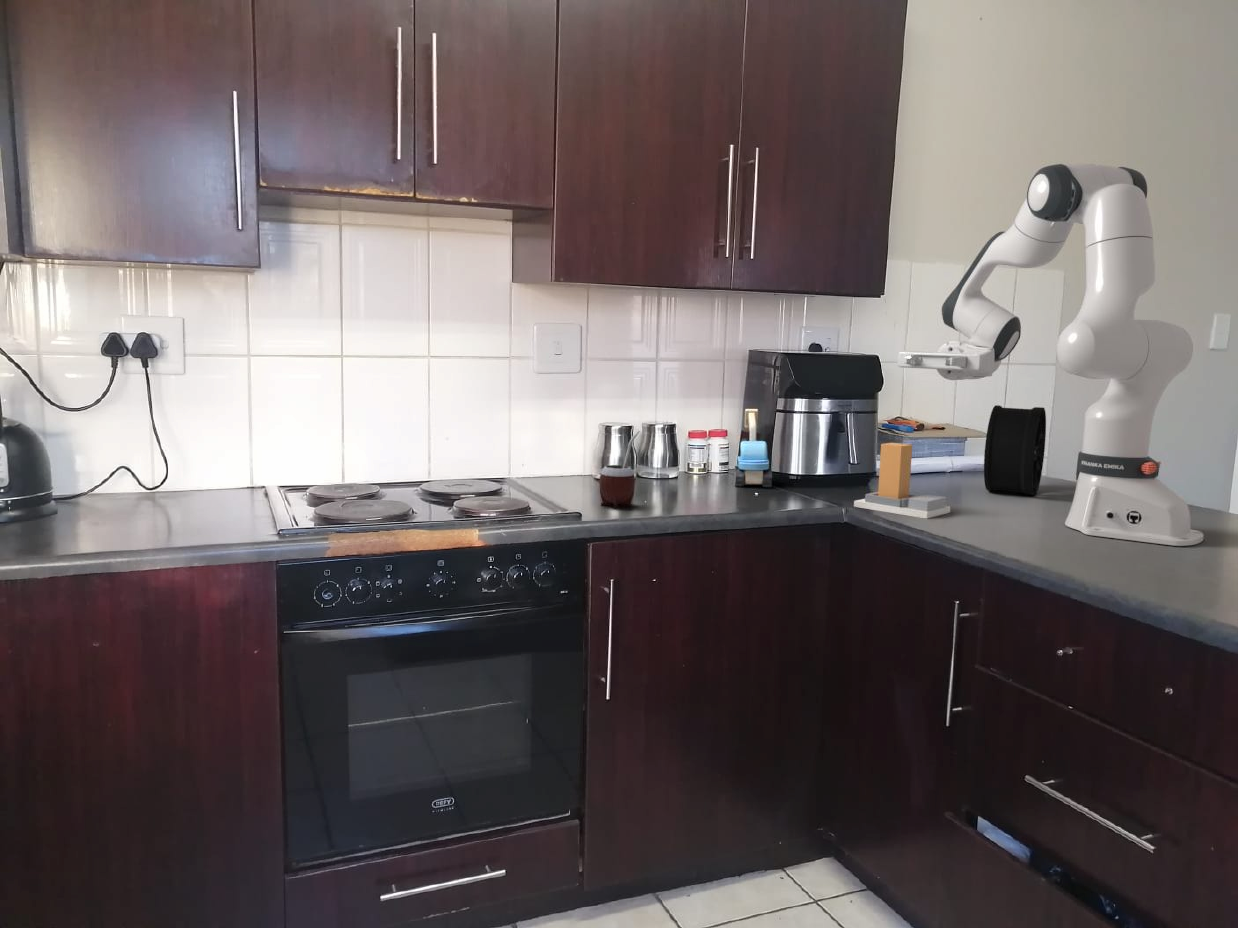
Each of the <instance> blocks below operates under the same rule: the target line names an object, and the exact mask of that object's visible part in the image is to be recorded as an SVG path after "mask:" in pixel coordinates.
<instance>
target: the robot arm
mask: <svg viewBox="0 0 1238 928" xmlns="http://www.w3.org/2000/svg"><path fill="white" fill-rule="evenodd" d="M1147 197H1148V183H1147V180H1146V178H1145V176H1144V174H1143V173H1142V172H1140V171H1138V170H1136V169H1133V168H1129V167H1125V166H1120V167H1119V166H1118V167H1116V166H1109V165H1102V164H1101V165H1099V164H1093V163H1075V164H1073V163H1072V164H1063V163H1057V164H1051V165H1047V166H1044V167H1042V168H1040V169H1039V170H1038V171H1036V173H1035V174H1034V175H1033V177H1032V178H1031V180H1030V181H1029V184H1028V187H1027V191H1026V198H1025V200H1024V201H1023V203H1022V205H1021V207H1020V209H1019V210H1018V212H1017V214H1016V217H1015V219H1014V221H1013V223H1012V224H1011V226H1010V227H1009V228H1008V229H1007V230H1006V231H999V232H997V233H994V235H993V236H991V237H990V238H989V240H988V241H987V242H985V245H983V247H982V248H981V249H980V251H979V253H978V254H977V255H976V257H975V258H974V260H973V261H972V263H971V264H970V266H969V268H968V269H967V270H966V272H965V274H963V276H962V278H961V279H960V281H959V283H958V284H957V285H956V286H955V288H954V289H953V290H952V291H951V292H950V294H949V295H948V296H947V298H946V299H945V301H944V302H943V303H942V306H941V317H942V320H943V324H944V325H945V326H947V327H949V328H951V329H953V330H954V331H956V332H959V333H961V335H963V336H965V337H967V338H968V339H969V340H966V341H965V340H962V341H961V340H960V341H959V340H950V341H948V342H946V343H943V344H942V345H941V346H940V348H938V350H937V351H914V350H913V351H911V350H910V351H909V350H906V351H905V350H903V351H899V352H898V355H897V367H898V368H908V369H910V368H911V369H928V370H929V369H930V370H936V371H937V372H938V374H939V375H940V376H941V377H942V378H944V379H946V380H948V381H963V380H981V379H984V378H987V377H992V376H993V374H994V373H995V372H996V371H997V370H998V369H999V367H1000V365H1001V363H1002V360H1004V359H1006V358H1007V357H1008V356H1009V355H1010V354H1011V353H1012V352H1013V350H1014V349H1015V348H1016V346H1017V344H1018V342H1019V341H1020V337H1021V334H1022V333H1021V332H1022V326H1021V325H1022V324H1021V320H1020V318H1019V317H1018V316H1016V315H1015V314H1013V313H1012V312H1011V311H1009V310H1007V309H1006V308H1004V307H1003V306H1001V305H999V304H997V303H996V302H994V301H993V300H991V299H990V298H988V297H986V296H985V294H984V293H983V291H982V287H983V286H984V284H985V283H986V282H987V280H988V278H989V277H990V276H991V274H992V273H993V271H994V270H995V268H996V267H997V266H1001V265H1002V266H1009V267H1013V268H1014V267H1015V268H1020V269H1021V268H1022V269H1033V268H1039V267H1042V266H1045V265H1047V264H1048V263H1049V264H1050V263H1051V261H1053V260H1055V259H1056V257H1058V255H1059V253H1060V252H1061V250H1062V249H1063V247H1064V246H1065V243H1066V241H1067V239H1068V237H1069V235H1070V233H1071V231H1072V228H1073V226H1074V224H1080V225H1083V227H1084V244H1085V245H1084V246H1085V247H1084V248H1085V249H1084V250H1085V252H1084V253H1085V291H1084V292H1085V293H1084V298H1083V301H1082V304H1081V307H1080V309H1079V312H1077V315H1076V316H1075V318H1074V319H1073V320H1072V321H1071V322H1070V323H1069V324H1068V325H1067V326H1066V327H1065V328H1064V329H1063V330H1062V332H1061V333H1060V335H1059V336H1058V339H1057V342H1056V349H1055V351H1056V358H1057V361H1058V363H1059V366H1060V367H1061V368H1062V369H1063V370H1064V371H1065V372H1066V373H1068V374H1071V375H1074V376H1077V377H1081V378H1087V379H1090V380H1109V383H1108V386H1107V388H1106V390H1105V392H1104V393H1103V395H1102V396H1101V397H1100V398H1099V399H1098V400H1097V401H1095V402H1093V403H1092V404H1091V405H1089V406H1088V408H1087V409H1086V411H1085V413H1084V417H1083V418H1084V419H1083V428H1082V439H1081V450H1080V451H1079V452H1078V453H1077V454H1078V455H1077V459H1076V467H1075V475H1076V477H1075V479H1076V480H1075V481H1076V486H1075V492H1074V495H1073V499H1072V503H1071V506H1070V509H1069V512H1068V515H1067V518H1066V520H1065V522H1064V525H1065V527H1068V528H1071V529H1074V530H1077V531H1079V532H1081V533H1083V534H1085V535H1088V536H1095V537H1101V538H1102V537H1103V538H1113V539H1118V540H1126V541H1127V540H1128V541H1134V542H1143V543H1150V544H1160V545H1166V546H1167V545H1168V546H1173V547H1174V546H1176V547H1185V546H1187V547H1188V546H1194V545H1198V544H1200V543H1202V542H1203V541H1204V533H1203V532H1202V531H1200V530H1196V529H1191V514H1190V512H1191V511H1190V508H1189V505H1188V503H1187V502H1186V501H1185V500H1184V499H1183V498H1181V497H1180V496H1179V495H1178V494H1176V493H1175V492H1174V491H1173V490H1172V489H1170V488H1169V487H1168V486H1167V485H1166V484H1164V483H1163V482H1162V481H1161V480H1160V479H1159V478H1158V477H1159V472H1160V468H1161V464H1162V462H1161V461H1157V460H1155V459H1153V458H1152V457H1150V455H1149V450H1150V449H1149V448H1150V441H1151V435H1152V427H1153V420H1154V416H1155V412H1156V410H1157V407H1158V404H1159V402H1160V400H1161V398H1162V396H1163V394H1164V393H1165V390H1166V389H1167V387H1168V386H1169V385H1170V383H1172V380H1174V378H1175V377H1177V376H1178V375H1179V374H1181V373H1182V372H1183V371H1184V370H1185V369H1186V368H1187V367H1188V366H1189V364H1190V362H1191V360H1192V358H1193V352H1194V344H1193V339H1192V337H1191V335H1190V333H1189V331H1187V330H1186V329H1185V328H1184V327H1182V326H1180V325H1176V324H1173V323H1171V322H1166V321H1162V320H1158V319H1136V318H1135V309H1136V305H1137V302H1138V299H1139V298H1140V297H1141V296H1143V295H1144V294H1146V293H1147V292H1148V291H1150V289H1151V288H1152V287H1153V285H1154V283H1155V281H1156V268H1155V266H1156V265H1155V263H1156V262H1155V251H1154V250H1155V248H1154V247H1155V246H1154V232H1153V226H1152V225H1153V224H1152V218H1151V212H1150V208H1149V205H1148V201H1147Z"/></svg>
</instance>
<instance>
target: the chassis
mask: <svg viewBox="0 0 1238 928" xmlns="http://www.w3.org/2000/svg"><path fill="white" fill-rule="evenodd" d="M853 507H854V508H861V509H866V510H873V511H877V512H883V513H891V514H897V515H901V516H907V517H908V516H909V517H914V518H921V519H931V518H934V517H939V516H942V515H945V514H949V513H951V506H949V505H948V506H947V496H942V495H933V494H922V495H920V494H919V495H918V494H913V493H909V497H907V498H903V499H896V498H889V497H883V496H878V491H876V492H870V493H866V494H864V498H862V499H856V500H853Z"/></svg>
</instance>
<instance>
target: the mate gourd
mask: <svg viewBox="0 0 1238 928" xmlns="http://www.w3.org/2000/svg"><path fill="white" fill-rule="evenodd" d="M640 432H641V431H640V430H639V429H638V430H637V431H636V432H635V433H634V435H632V437H631V439H630V440H629V441H628V444H627V451H626V453H625V458H624V462H623V465H620V464H612V465H611V464H610V465H605V466H604V467H603V468H602V469H601V472H600V475H599V480H598V483H599V484H598V485H599V495H600V499H601V503H600V506H601V507H612V509H613V510H618V508H632V507H633V504H632V501H633V499H634V498H633V497H634V496H635V495H634V494H635V485H636V484H635V482H636V481H635V473H634V470H633V469H632V467H631V466H628V465H627V464H628V460H629V456H630V451H631V449H632V446H633V442H634V441H635V438H636V437H637V436H638V435H639V433H640Z"/></svg>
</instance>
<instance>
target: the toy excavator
mask: <svg viewBox="0 0 1238 928" xmlns="http://www.w3.org/2000/svg"><path fill="white" fill-rule="evenodd" d="M758 417H759V409H758V408H745V410H744V429H748V430H749V431H748V432H749V438H748V439H749V440H743V441H741V442H740V446H739V447H740V449H739V450H740V456H739V455H738V457H737V465H735V466H734V474H733V478H734V487H735V488H736V487H737V488H738V487H740V488H741V487H744V486H745V485H762V487H763V488H771V487H772V484H773V481H772V480H773V471H772V467H771V466H770V460H769V458H768V445H767V442H766V441H764V440H757V429H758V421H759V420H758V419H759V418H758Z"/></svg>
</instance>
